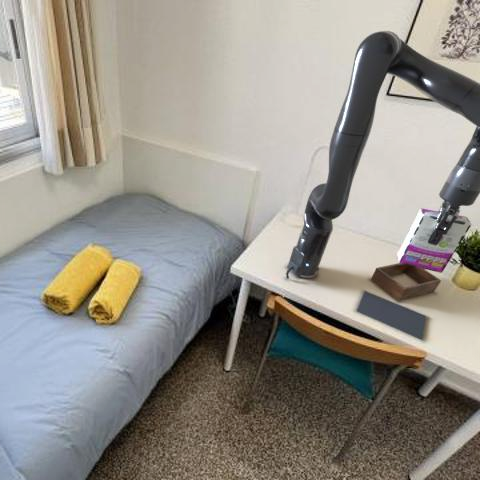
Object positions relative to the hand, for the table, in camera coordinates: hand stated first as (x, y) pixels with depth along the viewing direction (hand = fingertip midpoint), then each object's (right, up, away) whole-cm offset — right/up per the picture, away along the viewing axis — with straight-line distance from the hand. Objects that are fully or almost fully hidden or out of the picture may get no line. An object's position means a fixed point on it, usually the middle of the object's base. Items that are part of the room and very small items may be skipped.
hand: (432, 238), depth 98 cm
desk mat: (-3, -24, +13) cm, 27 cm away
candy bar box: (0, -8, +5) cm, 9 cm away
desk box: (+8, -17, +24) cm, 31 cm away
